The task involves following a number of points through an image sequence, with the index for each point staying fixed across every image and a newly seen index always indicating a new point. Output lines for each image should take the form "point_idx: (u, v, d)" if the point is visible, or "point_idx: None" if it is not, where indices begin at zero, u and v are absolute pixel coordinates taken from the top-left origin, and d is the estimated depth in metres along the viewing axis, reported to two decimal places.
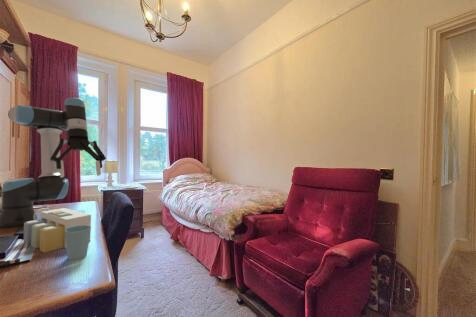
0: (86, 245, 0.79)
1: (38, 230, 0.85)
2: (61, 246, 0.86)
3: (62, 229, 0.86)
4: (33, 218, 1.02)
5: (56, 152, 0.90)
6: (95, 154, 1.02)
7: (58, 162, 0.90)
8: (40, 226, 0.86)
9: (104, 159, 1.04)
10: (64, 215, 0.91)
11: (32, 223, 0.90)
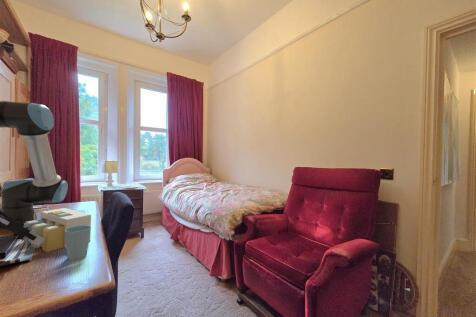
0: (86, 245, 0.79)
1: (38, 230, 0.85)
2: (63, 245, 0.87)
3: (64, 228, 0.87)
4: (33, 218, 1.02)
5: None
6: None
7: None
8: (40, 226, 0.86)
9: (24, 236, 0.75)
10: (64, 215, 0.91)
11: (32, 223, 0.90)
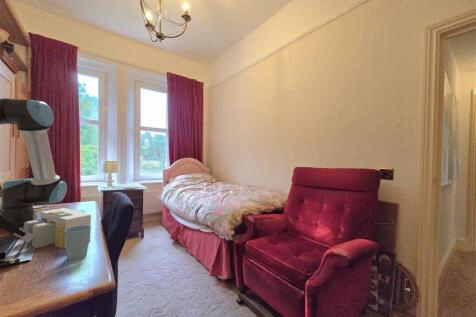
0: (86, 245, 0.79)
1: (39, 230, 0.86)
2: None
3: None
4: (33, 218, 1.02)
5: None
6: None
7: None
8: (41, 226, 0.87)
9: (13, 232, 0.78)
10: (64, 215, 0.91)
11: (32, 223, 0.90)
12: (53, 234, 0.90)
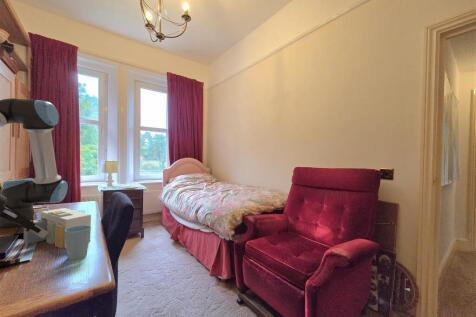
0: (86, 245, 0.79)
1: (53, 227, 0.90)
2: None
3: None
4: (33, 218, 1.02)
5: (14, 222, 0.84)
6: (20, 224, 0.81)
7: None
8: None
9: (30, 229, 0.82)
10: (64, 215, 0.91)
11: None
12: None
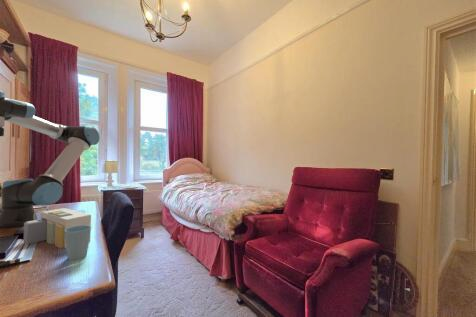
0: (86, 245, 0.79)
1: (53, 227, 0.90)
2: None
3: None
4: (33, 218, 1.02)
5: None
6: None
7: None
8: None
9: None
10: (64, 215, 0.91)
11: (32, 223, 0.90)
12: None
